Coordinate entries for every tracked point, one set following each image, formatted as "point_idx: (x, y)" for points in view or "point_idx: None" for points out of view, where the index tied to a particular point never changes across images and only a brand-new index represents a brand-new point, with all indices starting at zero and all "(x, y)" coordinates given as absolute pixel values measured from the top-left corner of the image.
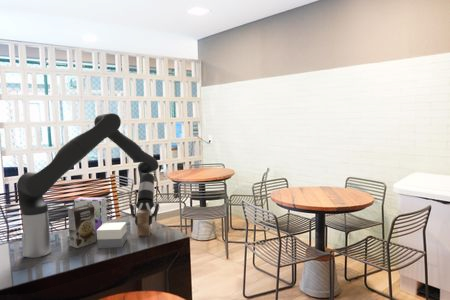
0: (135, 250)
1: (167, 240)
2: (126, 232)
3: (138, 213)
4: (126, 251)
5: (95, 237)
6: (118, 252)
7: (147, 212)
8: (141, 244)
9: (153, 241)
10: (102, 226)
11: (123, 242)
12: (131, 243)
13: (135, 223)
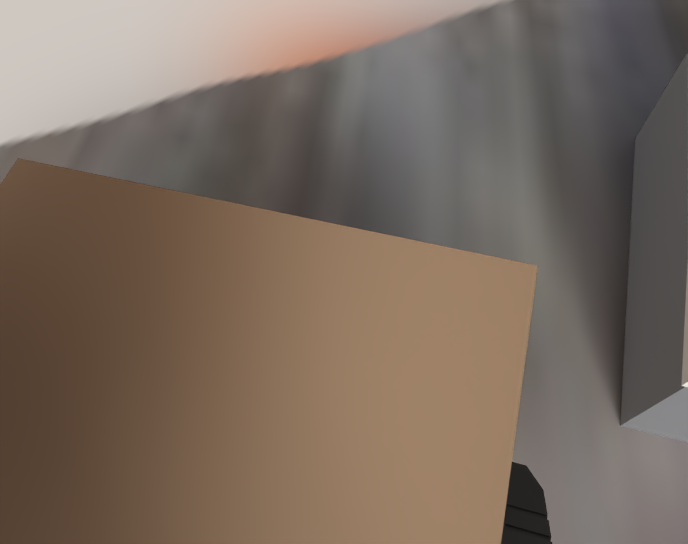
0: (471, 19)
1: (81, 156)
2: (672, 382)
3: (455, 270)
4: (564, 22)
5: None
6: (647, 21)
7: (44, 170)
8: (399, 137)
9: (244, 178)
10: None
11: (643, 189)
12: (526, 203)
13: (516, 481)
